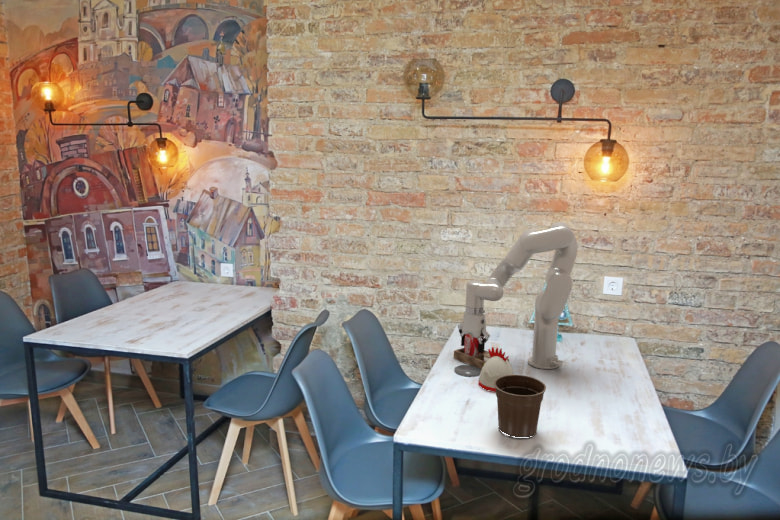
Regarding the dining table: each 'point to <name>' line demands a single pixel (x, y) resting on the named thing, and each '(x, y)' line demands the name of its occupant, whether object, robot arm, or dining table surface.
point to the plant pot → (519, 404)
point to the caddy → (470, 358)
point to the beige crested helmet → (494, 369)
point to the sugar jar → (486, 356)
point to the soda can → (471, 345)
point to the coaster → (467, 370)
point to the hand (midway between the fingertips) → (472, 348)
